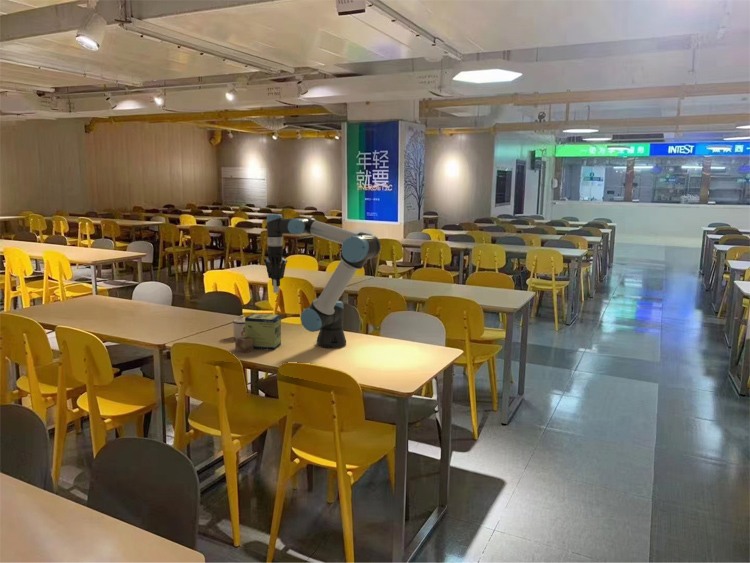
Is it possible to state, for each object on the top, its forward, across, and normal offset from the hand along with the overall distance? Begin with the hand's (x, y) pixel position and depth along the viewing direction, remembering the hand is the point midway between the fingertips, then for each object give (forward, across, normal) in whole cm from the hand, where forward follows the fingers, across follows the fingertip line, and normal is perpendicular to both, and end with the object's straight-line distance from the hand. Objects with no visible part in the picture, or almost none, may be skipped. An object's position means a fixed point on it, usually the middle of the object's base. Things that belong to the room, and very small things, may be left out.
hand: (276, 292), depth 285 cm
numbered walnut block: (+27, -7, -18) cm, 33 cm away
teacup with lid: (+26, -24, +3) cm, 35 cm away
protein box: (+27, -3, -8) cm, 28 cm away
